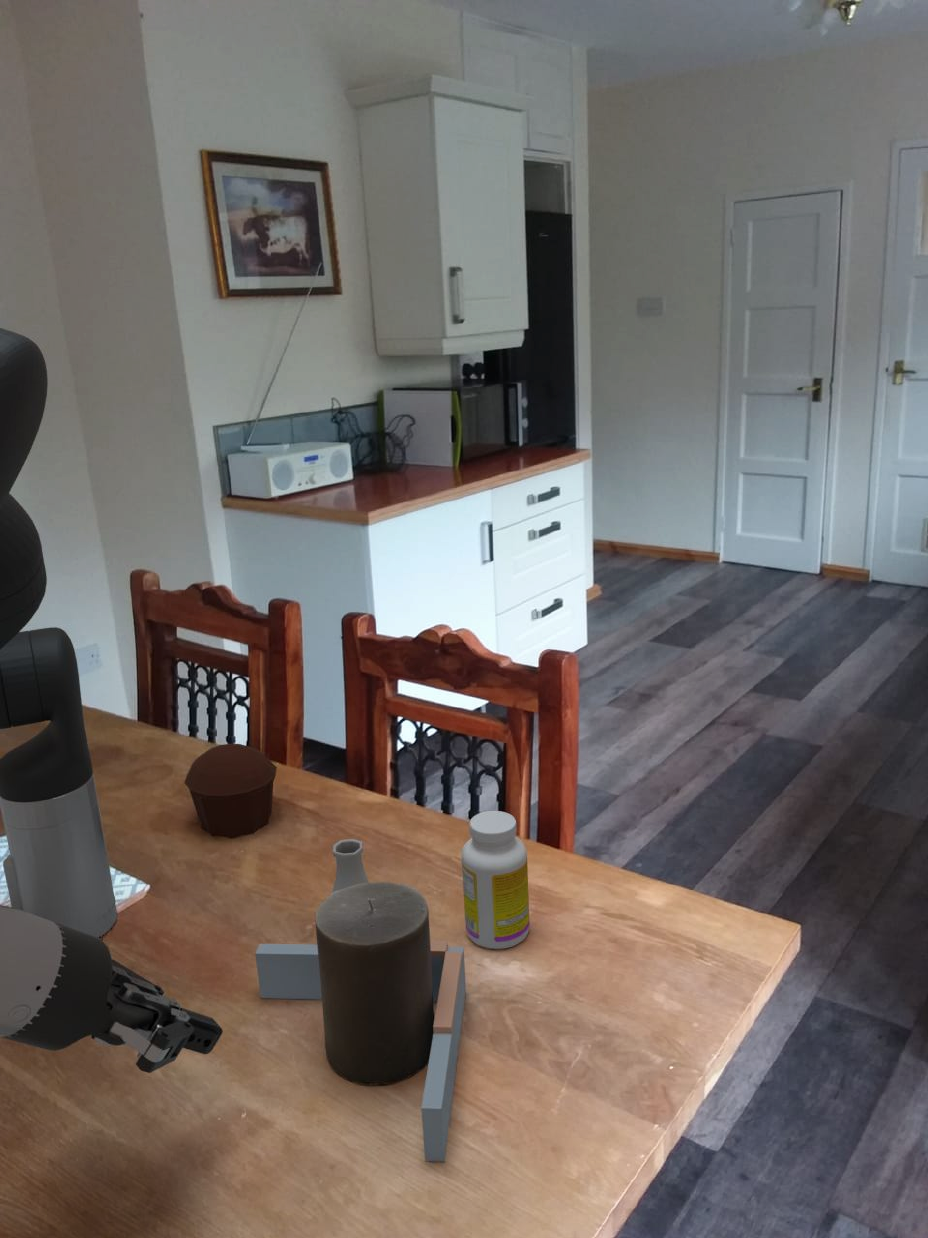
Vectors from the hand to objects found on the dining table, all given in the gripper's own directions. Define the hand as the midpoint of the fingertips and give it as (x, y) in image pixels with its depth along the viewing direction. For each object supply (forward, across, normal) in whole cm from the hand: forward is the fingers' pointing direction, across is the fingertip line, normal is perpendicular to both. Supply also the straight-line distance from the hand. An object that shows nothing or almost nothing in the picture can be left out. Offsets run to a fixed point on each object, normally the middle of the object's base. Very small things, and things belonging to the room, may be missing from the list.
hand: (212, 1037), depth 76 cm
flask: (+23, +15, -9) cm, 29 cm away
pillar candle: (+17, -1, -4) cm, 18 cm away
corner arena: (+14, 0, -1) cm, 14 cm away
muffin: (+25, +46, -10) cm, 53 cm away
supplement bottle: (+30, +5, -17) cm, 35 cm away
